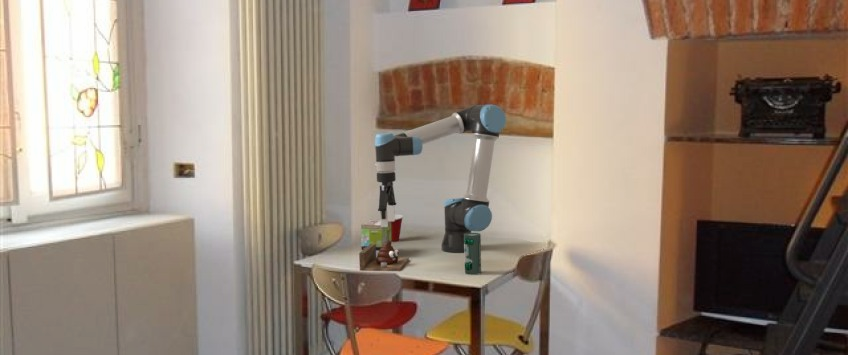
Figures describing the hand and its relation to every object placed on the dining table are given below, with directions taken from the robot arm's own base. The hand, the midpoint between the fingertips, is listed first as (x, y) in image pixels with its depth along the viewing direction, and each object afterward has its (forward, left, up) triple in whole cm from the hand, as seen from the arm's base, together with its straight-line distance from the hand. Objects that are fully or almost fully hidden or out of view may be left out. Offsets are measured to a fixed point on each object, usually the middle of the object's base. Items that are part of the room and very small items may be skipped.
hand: (388, 224), depth 301 cm
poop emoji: (+1, 0, -16) cm, 16 cm away
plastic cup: (+10, -53, -17) cm, 56 cm away
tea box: (+10, -20, -17) cm, 28 cm away
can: (-35, +11, -17) cm, 41 cm away
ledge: (+2, 0, -17) cm, 17 cm away
